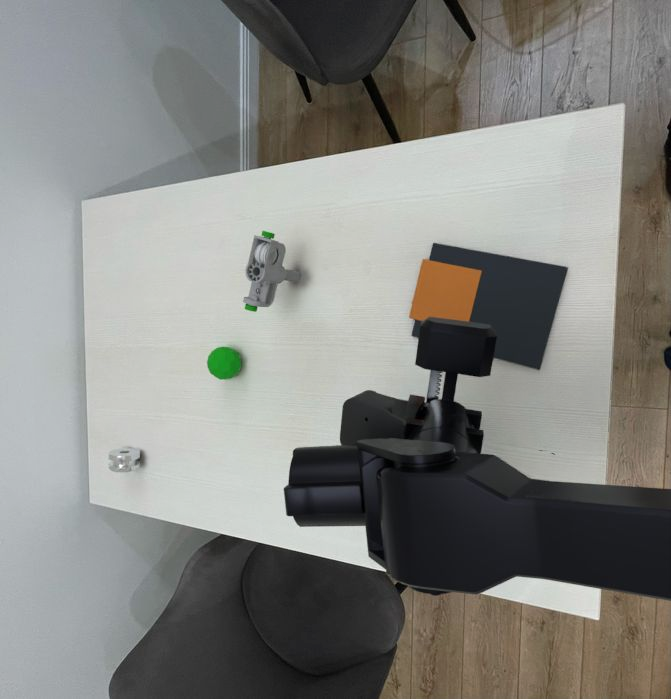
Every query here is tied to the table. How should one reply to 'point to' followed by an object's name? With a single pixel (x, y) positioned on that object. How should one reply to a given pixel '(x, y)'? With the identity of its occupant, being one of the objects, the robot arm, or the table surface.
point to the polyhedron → (224, 363)
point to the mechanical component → (266, 271)
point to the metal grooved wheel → (124, 460)
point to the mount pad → (491, 298)
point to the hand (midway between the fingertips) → (446, 396)
